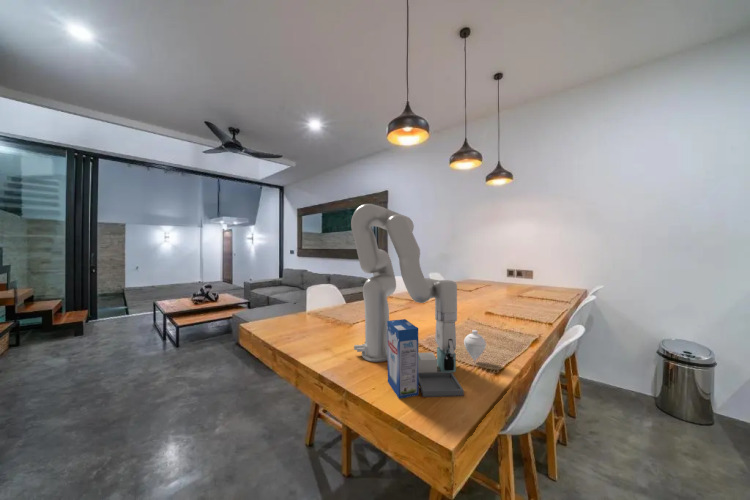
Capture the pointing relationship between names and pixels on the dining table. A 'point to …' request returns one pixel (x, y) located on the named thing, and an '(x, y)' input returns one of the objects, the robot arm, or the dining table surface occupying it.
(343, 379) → the dining table surface
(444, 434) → the dining table surface
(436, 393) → the tray
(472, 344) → the spinning top
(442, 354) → the teal block
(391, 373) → the milk carton
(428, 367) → the light grey block
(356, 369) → the dining table surface
